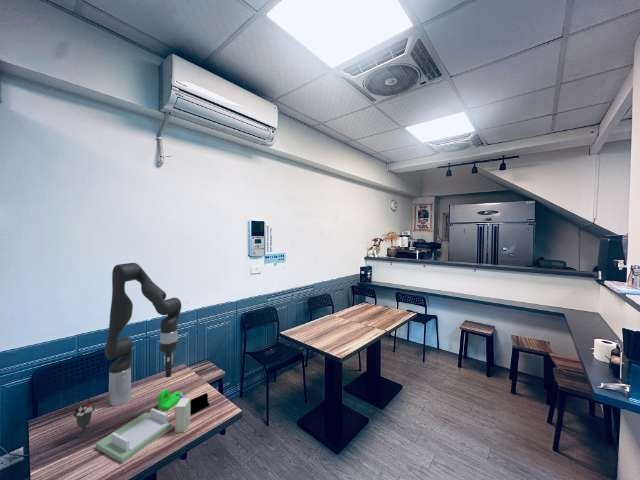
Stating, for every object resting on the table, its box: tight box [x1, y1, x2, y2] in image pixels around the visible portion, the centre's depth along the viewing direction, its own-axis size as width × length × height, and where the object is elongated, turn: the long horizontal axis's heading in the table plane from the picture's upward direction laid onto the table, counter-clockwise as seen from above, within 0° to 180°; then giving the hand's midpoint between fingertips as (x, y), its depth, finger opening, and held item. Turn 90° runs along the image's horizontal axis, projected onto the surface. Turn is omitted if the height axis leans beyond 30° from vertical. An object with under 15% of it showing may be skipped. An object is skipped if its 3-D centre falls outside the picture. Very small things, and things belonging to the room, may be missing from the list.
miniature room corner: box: [179, 392, 211, 417], centre depth 131 cm, size 12×12×7 cm
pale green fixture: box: [95, 407, 172, 464], centre depth 111 cm, size 18×20×6 cm
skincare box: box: [174, 397, 191, 433], centre depth 116 cm, size 6×4×12 cm
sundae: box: [72, 398, 95, 440], centre depth 112 cm, size 7×7×15 cm
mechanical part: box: [157, 389, 184, 412], centre depth 134 cm, size 12×6×8 cm, turn 167°
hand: (168, 372), depth 125 cm, fingers open, 8 cm apart
